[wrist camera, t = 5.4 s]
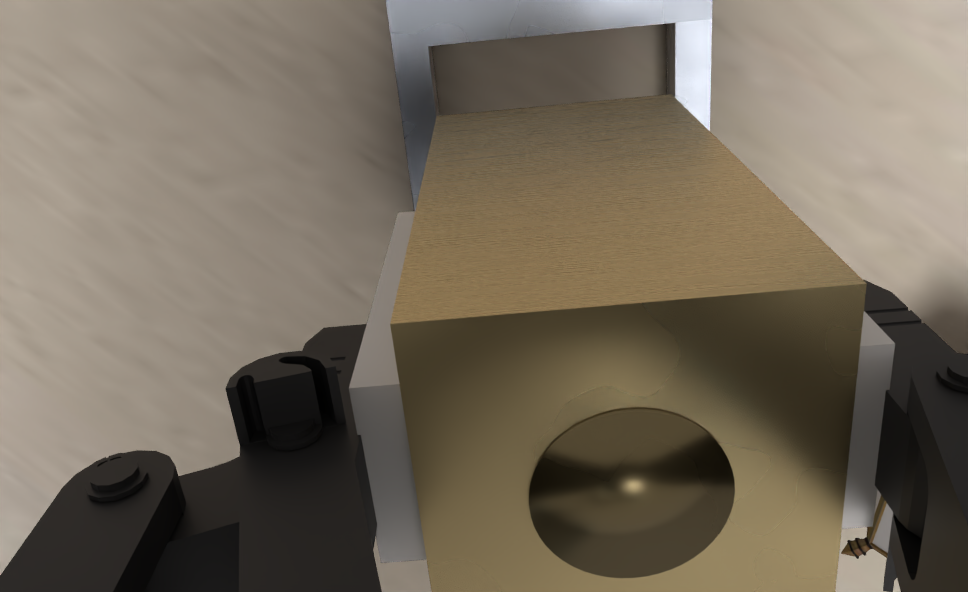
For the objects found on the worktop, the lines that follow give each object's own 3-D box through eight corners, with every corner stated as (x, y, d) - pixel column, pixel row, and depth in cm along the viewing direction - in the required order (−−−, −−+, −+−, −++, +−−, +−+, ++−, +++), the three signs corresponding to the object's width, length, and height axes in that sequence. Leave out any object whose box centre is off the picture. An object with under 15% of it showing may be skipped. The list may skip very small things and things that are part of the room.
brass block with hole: (461, 324, 20) (443, 668, 11) (436, 116, 18) (389, 326, 9) (671, 307, 20) (831, 641, 11) (671, 94, 18) (868, 286, 9)
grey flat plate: (460, 521, 29) (459, 547, 28) (386, -35, 22) (381, -31, 20) (693, 505, 29) (701, 530, 28) (702, -66, 21) (714, -64, 20)
